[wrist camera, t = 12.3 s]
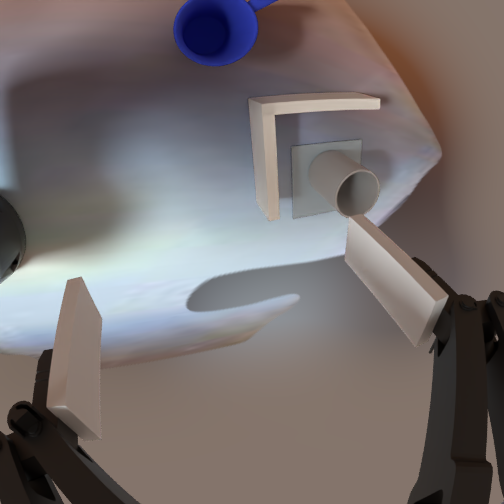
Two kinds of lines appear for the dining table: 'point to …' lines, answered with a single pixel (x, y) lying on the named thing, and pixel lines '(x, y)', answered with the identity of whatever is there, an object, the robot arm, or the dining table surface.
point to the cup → (344, 183)
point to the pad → (302, 157)
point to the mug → (217, 29)
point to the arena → (265, 134)
